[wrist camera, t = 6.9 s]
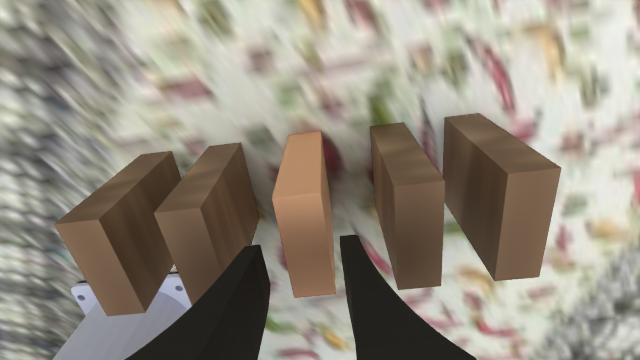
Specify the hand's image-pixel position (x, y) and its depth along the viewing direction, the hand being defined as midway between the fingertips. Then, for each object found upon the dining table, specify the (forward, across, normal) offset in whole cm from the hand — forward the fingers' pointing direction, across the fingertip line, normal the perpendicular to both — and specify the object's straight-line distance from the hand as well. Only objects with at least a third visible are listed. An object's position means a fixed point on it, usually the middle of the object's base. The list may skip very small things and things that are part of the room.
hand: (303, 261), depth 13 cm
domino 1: (+8, +8, 0) cm, 11 cm away
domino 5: (+8, -9, 0) cm, 11 cm away
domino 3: (+8, 0, 0) cm, 8 cm away
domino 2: (+8, +4, 0) cm, 9 cm away
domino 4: (+8, -5, 0) cm, 9 cm away
